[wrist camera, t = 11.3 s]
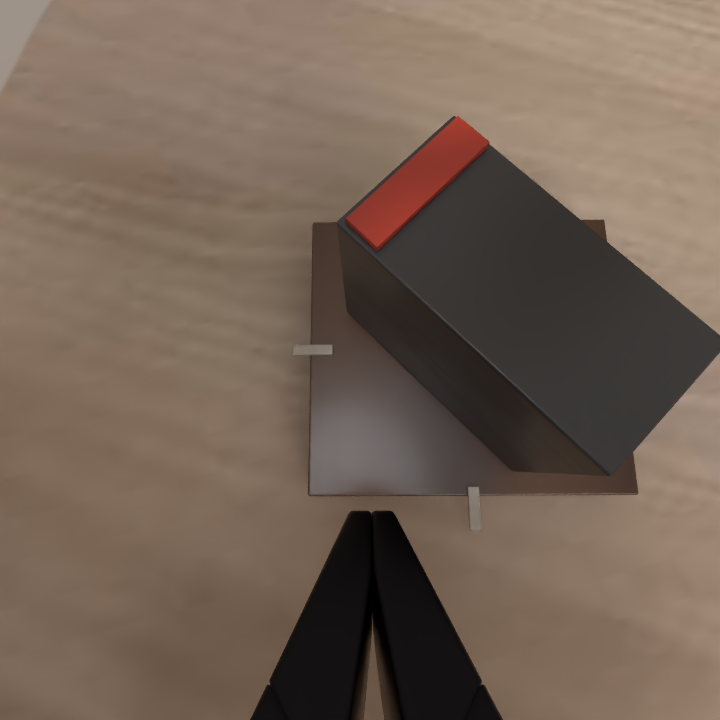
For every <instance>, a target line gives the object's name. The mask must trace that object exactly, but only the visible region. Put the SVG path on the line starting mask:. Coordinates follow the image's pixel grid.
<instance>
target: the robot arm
mask: <svg viewBox="0 0 720 720" xmlns="http://www.w3.org/2000/svg"><path fill="white" fill-rule="evenodd" d="M372 615H373V634H374V644H375V652H376V660H377V667H378V675H379V683H380V691H381V699H382V707H383V715H384V720H503V719H502V717H501V715H500V713H499V712H498V710H497V708H496V706H495V704H494V702H493V700H492V698H491V696H490V695H489V693H488V691H487V689H486V687H485V686H484V685H481V682H482V680H481V678H480V676H479V674H478V672H477V670H476V668H475V666H474V664H473V663H472V661H471V659H470V657H469V655H468V653H467V651H466V649H465V647H464V645H463V643H462V642H461V640H460V638H459V636H458V634H457V632H456V630H455V628H454V626H453V624H452V623H451V621H450V619H449V617H448V615H447V613H446V611H445V609H444V607H443V605H442V603H441V602H440V600H439V598H438V596H437V594H436V592H435V590H434V588H433V586H432V584H431V582H430V581H429V579H428V577H427V575H426V573H425V571H424V569H423V567H422V565H421V563H420V561H419V560H418V558H417V556H416V554H415V552H414V550H413V548H412V546H411V544H410V542H409V540H408V539H407V537H406V535H405V533H404V531H403V529H402V527H401V525H400V523H399V521H398V519H397V518H396V516H395V514H394V513H393V512H392V511H374V512H372V521H371V513H370V512H369V511H351V512H350V513H349V514H348V516H347V518H346V520H345V522H344V525H343V527H342V529H341V531H340V533H339V535H338V537H337V539H336V541H335V543H334V546H333V548H332V550H331V552H330V554H329V556H328V558H327V560H326V562H325V564H324V567H323V569H322V571H321V573H320V575H319V577H318V579H317V581H316V583H315V586H314V588H313V590H312V592H311V594H310V596H309V598H308V600H307V602H306V604H305V607H304V609H303V611H302V613H301V615H300V617H299V619H298V621H297V623H296V625H295V628H294V630H293V632H292V634H291V636H290V638H289V640H288V642H287V644H286V646H285V649H284V651H283V653H282V655H281V657H280V659H279V661H278V663H277V665H276V668H275V670H274V672H273V674H272V676H271V678H270V685H267V686H266V688H265V690H264V692H263V694H262V696H261V698H260V701H259V703H258V705H257V707H256V709H255V711H254V713H253V715H252V717H251V719H250V720H363V719H364V709H365V699H366V689H367V679H368V669H369V659H370V649H371V637H372Z"/></svg>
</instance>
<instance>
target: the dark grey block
mask: <svg viewBox="0 0 720 720" xmlns="http://www.w3.org/2000/svg"><path fill="white" fill-rule="evenodd" d="M336 224H337V233H338V241H339V249H340V258H341V266H342V274H343V283H344V291H345V299H346V308H347V312H348V313H349V314H350V315H351V316H352V317H353V318H354V319H355V320H356V321H357V322H359V323H360V324H361V325H362V326H363V327H364V328H365V329H366V330H367V331H368V332H369V333H370V334H371V335H372V336H373V337H374V338H375V339H376V340H377V341H378V342H379V343H380V344H381V345H382V346H383V347H384V348H386V349H387V350H388V351H389V352H390V353H391V354H392V355H393V356H394V357H395V358H396V359H397V360H398V361H399V362H400V363H401V364H402V365H403V366H404V367H405V368H406V369H407V370H408V371H409V372H410V373H411V374H413V375H414V376H415V377H416V378H417V379H418V380H419V381H420V382H421V383H422V384H423V385H424V386H425V387H426V388H427V389H428V390H429V391H430V392H431V393H432V394H433V395H434V396H435V397H436V398H437V399H438V400H440V401H441V402H442V403H443V404H444V405H445V406H446V407H447V408H448V409H449V410H450V411H451V412H452V413H453V414H454V415H455V416H456V417H457V418H458V419H459V420H460V421H461V422H462V423H463V424H464V425H465V426H467V427H468V428H469V429H470V430H471V431H472V432H473V433H474V434H475V435H476V436H477V437H478V438H479V439H480V440H481V441H482V442H483V443H484V444H485V445H486V446H487V447H488V448H489V449H490V450H491V451H492V452H494V453H495V454H496V455H497V456H498V457H499V458H500V459H501V460H502V461H503V462H504V463H505V464H506V465H507V466H508V467H509V468H510V469H511V470H512V471H515V472H533V473H551V474H569V475H587V476H605V477H610V476H612V475H613V474H614V473H615V472H616V471H617V470H618V469H619V467H620V466H621V465H622V464H623V463H624V462H625V461H626V459H627V458H628V457H629V456H630V455H631V454H632V453H633V451H634V450H635V449H636V448H637V447H638V446H639V445H640V443H641V442H642V441H643V440H644V439H645V438H646V436H647V435H648V434H649V433H650V432H651V431H652V430H653V428H654V427H655V426H656V425H657V424H658V423H659V422H660V420H661V419H662V418H663V417H664V416H665V415H666V414H667V412H668V411H669V410H670V409H671V408H672V407H673V406H674V404H675V403H676V402H677V401H678V400H679V399H680V398H681V396H682V395H683V394H684V393H685V392H686V391H687V390H688V388H689V387H690V386H691V385H692V384H693V383H694V382H695V380H696V379H697V378H698V377H699V376H700V375H701V374H702V372H703V371H704V370H705V369H706V368H707V367H708V366H709V364H710V363H711V362H712V361H713V360H714V359H715V357H716V356H717V355H718V354H719V353H720V335H719V334H717V333H716V332H715V331H714V330H713V329H711V328H710V327H709V326H708V325H707V324H705V323H704V322H703V321H702V320H701V319H699V318H698V317H697V316H696V315H695V314H693V313H692V312H691V311H690V310H689V309H687V308H686V307H685V306H684V305H682V304H681V303H680V302H679V301H678V300H676V299H675V298H674V297H673V296H672V295H670V294H669V293H668V292H667V291H666V290H664V289H663V288H662V287H661V286H660V285H658V284H657V283H656V282H655V281H654V280H652V279H651V278H650V277H649V276H648V275H646V274H645V273H644V272H643V271H641V270H640V269H639V268H638V267H637V266H635V265H634V264H633V263H632V262H631V261H629V260H628V259H627V258H626V257H625V256H623V255H622V254H621V253H620V252H619V251H617V250H616V249H615V248H614V247H613V246H611V245H610V244H609V243H608V242H606V241H605V240H604V239H603V238H602V237H600V236H599V235H598V234H597V233H596V232H594V231H593V230H592V229H591V228H590V227H588V226H587V225H586V224H585V223H584V222H582V221H581V220H580V219H579V218H578V217H576V216H575V215H574V214H573V213H571V212H570V211H569V210H568V209H567V208H565V207H564V206H563V205H562V204H561V203H559V202H558V201H557V200H556V199H555V198H553V197H552V196H551V195H550V194H549V193H547V192H546V191H545V190H544V189H543V188H541V187H540V186H539V185H538V184H537V183H535V182H534V181H533V180H532V179H530V178H529V177H528V176H527V175H526V174H524V173H523V172H522V171H521V170H520V169H518V168H517V167H516V166H515V165H514V164H512V163H511V162H510V161H509V160H508V159H506V158H505V157H504V156H503V155H502V154H500V153H499V152H498V151H497V150H495V149H494V148H493V147H492V146H491V145H489V141H488V140H487V139H485V138H484V137H483V136H482V135H481V134H479V133H478V132H477V131H476V130H474V129H473V128H472V127H471V126H470V125H468V124H467V123H466V122H465V121H464V120H462V119H461V118H460V117H459V116H458V117H455V116H453V117H452V118H451V119H450V120H448V121H447V122H446V123H445V124H444V125H443V126H442V127H441V128H440V129H439V130H437V131H436V132H435V133H434V134H433V135H432V136H431V137H430V138H429V139H428V140H426V141H425V142H424V143H423V144H422V145H421V146H420V147H419V148H418V149H417V150H415V151H414V152H413V153H412V154H411V155H410V156H409V157H408V158H407V159H406V160H404V161H403V162H402V163H401V164H400V165H399V166H398V167H397V168H396V169H395V170H393V171H392V172H391V173H390V174H389V175H388V176H387V177H386V178H385V179H384V180H382V181H381V182H380V183H379V184H378V185H377V186H376V187H375V188H374V189H373V190H371V191H370V192H369V193H368V194H367V195H366V196H365V197H364V198H363V199H361V200H360V201H359V202H358V203H357V204H356V205H355V206H354V207H353V208H352V209H350V210H349V211H348V212H347V213H346V214H345V215H344V216H343V217H342V218H341V219H339V220H338V221H337V223H336Z"/></svg>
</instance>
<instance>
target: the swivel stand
mask: <svg viewBox="0 0 720 720" xmlns="http://www.w3.org/2000/svg"><path fill="white" fill-rule="evenodd" d="M581 221H582V222H584V223H585V224H586V225H587V226H588V227H590V228H591V229H592V230H593V231H594V232H596V233H597V234H598V235H599V236H600V237H602V238H603V239H604V240H605V241H606V242H607V239H606V231H605V223H604V220H581ZM336 223H337V222H330V223H313V238H312V296H311V345H293V355H294V356H302V355H310V414H309V472H308V495H309V496H468V510H469V530H470V531H481V514H480V496H484V495H637V494H638V488H637V480H636V472H635V464H634V456H633V453H632V454H631V455H630V456H629V457H628V458H627V459H626V461H625V462H624V463H623V464H622V465H621V466H620V467H619V469H618V470H617V471H616V472H615V473H614V474H613V475H612V476H610V477H605V476H587V475H569V474H551V473H533V472H515V471H512V470H511V469H510V468H509V467H508V466H507V465H506V464H505V463H504V462H503V461H502V460H501V459H500V458H499V457H498V456H497V455H496V454H495V453H494V452H492V451H491V450H490V449H489V448H488V447H487V446H486V445H485V444H484V443H483V442H482V441H481V440H480V439H479V438H478V437H477V436H476V435H475V434H474V433H473V432H472V431H471V430H470V429H469V428H468V427H467V426H465V425H464V424H463V423H462V422H461V421H460V420H459V419H458V418H457V417H456V416H455V415H454V414H453V413H452V412H451V411H450V410H449V409H448V408H447V407H446V406H445V405H444V404H443V403H442V402H441V401H440V400H438V399H437V398H436V397H435V396H434V395H433V394H432V393H431V392H430V391H429V390H428V389H427V388H426V387H425V386H424V385H423V384H422V383H421V382H420V381H419V380H418V379H417V378H416V377H415V376H414V375H413V374H411V373H410V372H409V371H408V370H407V369H406V368H405V367H404V366H403V365H402V364H401V363H400V362H399V361H398V360H397V359H396V358H395V357H394V356H393V355H392V354H391V353H390V352H389V351H388V350H387V349H386V348H384V347H383V346H382V345H381V344H380V343H379V342H378V341H377V340H376V339H375V338H374V337H373V336H372V335H371V334H370V333H369V332H368V331H367V330H366V329H365V328H364V327H363V326H362V325H361V324H360V323H359V322H357V321H356V320H355V319H354V318H353V317H352V316H351V315H350V314H349V313H348V312H347V308H346V299H345V291H344V283H343V274H342V266H341V258H340V249H339V241H338V233H337V224H336Z"/></svg>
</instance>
